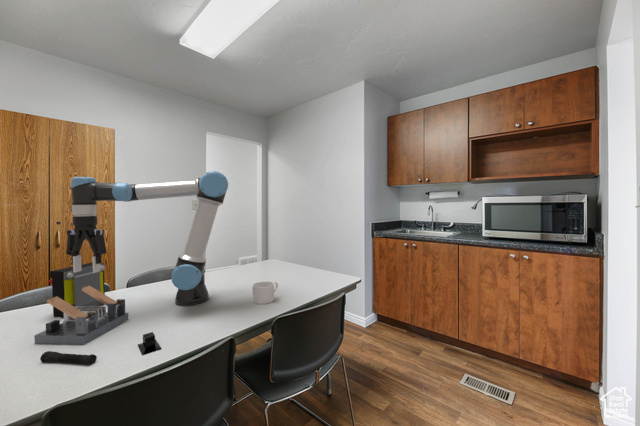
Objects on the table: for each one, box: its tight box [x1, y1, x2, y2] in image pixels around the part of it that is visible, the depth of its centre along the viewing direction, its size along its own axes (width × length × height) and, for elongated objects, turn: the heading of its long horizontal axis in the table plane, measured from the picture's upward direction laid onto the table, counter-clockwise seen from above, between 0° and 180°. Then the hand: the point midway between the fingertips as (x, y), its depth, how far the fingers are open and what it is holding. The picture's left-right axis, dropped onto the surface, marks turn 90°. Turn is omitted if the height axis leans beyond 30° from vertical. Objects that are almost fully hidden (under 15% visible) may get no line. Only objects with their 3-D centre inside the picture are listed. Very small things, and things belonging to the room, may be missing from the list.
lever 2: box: [82, 286, 118, 306], centre depth 109 cm, size 14×3×1 cm, turn 88°
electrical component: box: [48, 262, 106, 319], centre depth 124 cm, size 18×10×20 cm, turn 168°
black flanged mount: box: [137, 331, 162, 357], centre depth 90 cm, size 12×7×5 cm, turn 42°
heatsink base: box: [33, 298, 130, 346], centre depth 102 cm, size 18×20×9 cm
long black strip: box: [39, 350, 98, 366], centre depth 82 cm, size 3×16×3 cm, turn 83°
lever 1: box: [46, 296, 89, 320], centre depth 96 cm, size 14×3×1 cm, turn 88°
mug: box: [252, 281, 279, 305], centre depth 134 cm, size 13×10×8 cm
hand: (87, 271), depth 109 cm, fingers open, 8 cm apart
